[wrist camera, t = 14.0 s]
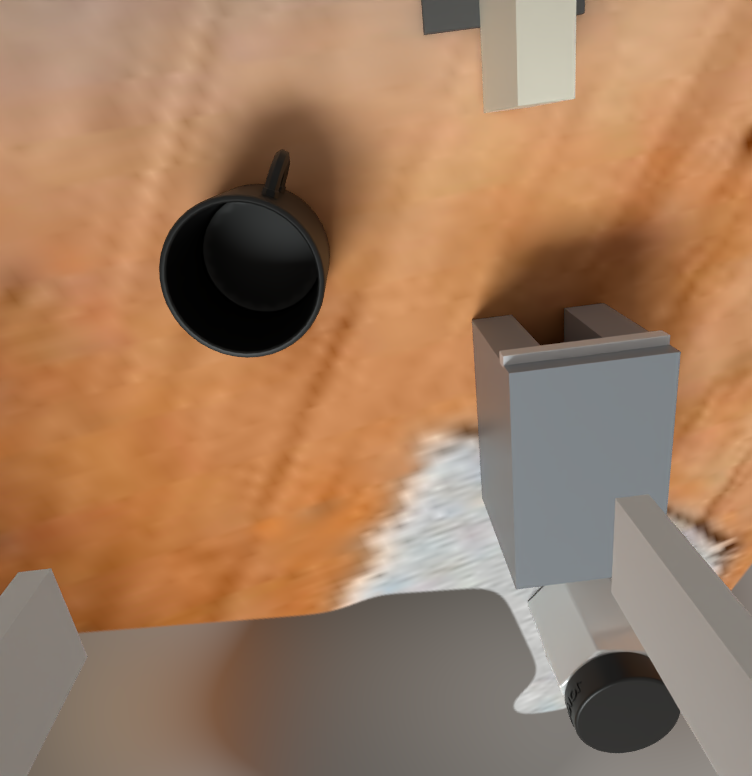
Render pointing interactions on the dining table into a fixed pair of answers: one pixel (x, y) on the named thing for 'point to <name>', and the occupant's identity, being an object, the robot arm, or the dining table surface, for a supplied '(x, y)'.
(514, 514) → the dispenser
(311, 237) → the mug
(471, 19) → the mat
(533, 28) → the cream upright slab
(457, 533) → the dining table surface
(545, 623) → the jar
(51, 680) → the robot arm
